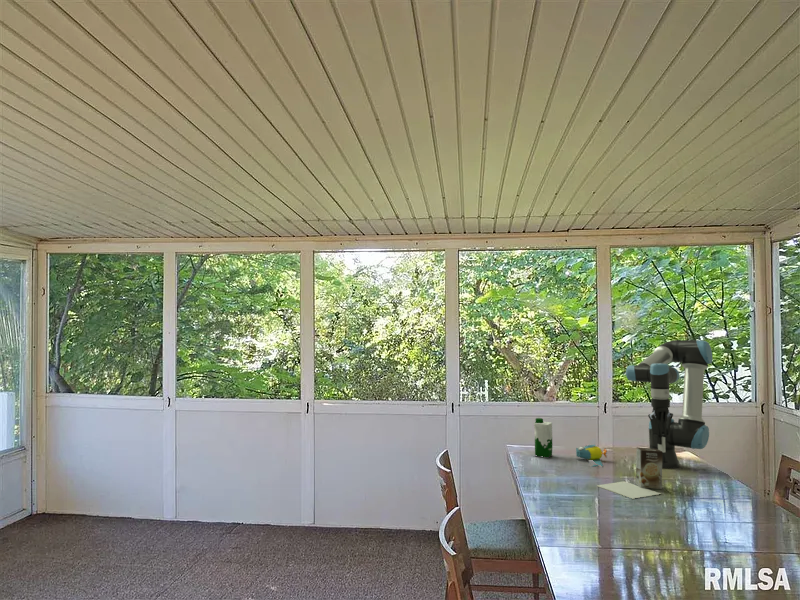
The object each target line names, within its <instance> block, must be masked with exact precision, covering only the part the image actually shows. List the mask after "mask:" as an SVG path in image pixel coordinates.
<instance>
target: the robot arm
mask: <svg viewBox="0 0 800 600" xmlns="http://www.w3.org/2000/svg"><path fill="white" fill-rule="evenodd" d="M669 363H681V366H682V367H683V369H684V379H683V392H682V393H683V394H682V395H683V398H682V410H681V411H682V412H681V414H682V415H681V416H680V417H679V418H678V422H676V421H675V420H674V418H673V417H674V413H671V412H670V410H669V408H670V407H671V404H670V403H671V400H670V384H674V383H676V382H677V381H678V380H679V379H680V371H679V370H678V369H677V368H675V367H673V366H669ZM712 363H713V351H712V348H711V345H710V343H709V342H708V341H706V340H700V339H695V340H694V339H691V340H688V339H687V340H686V339H683V340H681V339H675V340H673V339H672V340H670V341H666V342H665V343H661V344H660V345H659V346H657V347H656V348H654V350H653V352H652V353H651V354H650V355H649V356H647V357H646V358H645V359H643V360H642V361H641V362H639V363H638V364H637V365H634V364H633V365H628V366H627V367H626V371H625V375H626V376H625V377H626V379H627V380H628V381H630V382H635V383H637V382H638V383H639V382H640V383H641V382H642V383H650V397H651V398H650V403H651V407H652V412H651V413H650V414H649V413H648V416H647V417H648V418H649V422H648V439H649V441H648V442H649V448H650V449H658V450H660V451H662V469H677V468H680V461H679V459H678V456H677V453H676V447H680V448H687V449H693V450H703V449H704V448H705V447H707V444H708V443H709V437H710V428H709V427H708V426H707V425H706V422H705V420H704V419H703V418H702V417H703V398H704V376H705V375H704V374H705V371H706V370H707V369H708V366H709V365H710V364H712Z"/></svg>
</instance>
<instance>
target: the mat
mask: <svg viewBox="0 0 800 600" xmlns="http://www.w3.org/2000/svg"><path fill="white" fill-rule="evenodd" d="M596 487H598V488H600V489H602V490H606V491H608V492H611V493H614V494H616V495H619V494H620V495H619V496H622V495H623V497H625V496H626V497H625V498H627V497H629V498H628V499H630V498H632V499H631V500H636V499H635V498H638V499H641V498H640V497H644V498H647V497H646V496H650V497H653V496H652V495H656V496H660V495H659V494H661V495H662V493H660V492H658V491H654V490H651V489H650V488H642V487H639V486H638V485H637V484H634V483H630V482H627V481H625V480H623V481H618V482H616V481H615V482H610V483H603V484H597V485H596Z"/></svg>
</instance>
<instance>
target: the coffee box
mask: <svg viewBox="0 0 800 600" xmlns="http://www.w3.org/2000/svg"><path fill="white" fill-rule="evenodd" d="M635 454H636V458H635V460H636V462H635V464H636V465H635V468H636V469H635V485H637V486H639V487H642V488H646V489H655V490H656V489H657V490H663V468H662V451H660V450H658V449H650V447H649V448H647V447H636V453H635Z"/></svg>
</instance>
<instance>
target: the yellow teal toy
mask: <svg viewBox="0 0 800 600" xmlns="http://www.w3.org/2000/svg"><path fill="white" fill-rule="evenodd" d="M575 452H576V453H575V455H576V457H577V458H579V459H580V458H581V459H583V460H584V459H585V460H587V459H589V460H593V461H594V462H595V463H596V464H598V465H601V466H603V467H604V465H603V462H602V461H601V458H602V456H604V457H605V458H607V452H608V451H607V449H606V447H605V448H604V449H603V451H602V449H601V448H600V447H599V446H597V445H596V444H589V445H585V446H579V447H576V448H575ZM598 465H593V466H592V467H596V466H598Z"/></svg>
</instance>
